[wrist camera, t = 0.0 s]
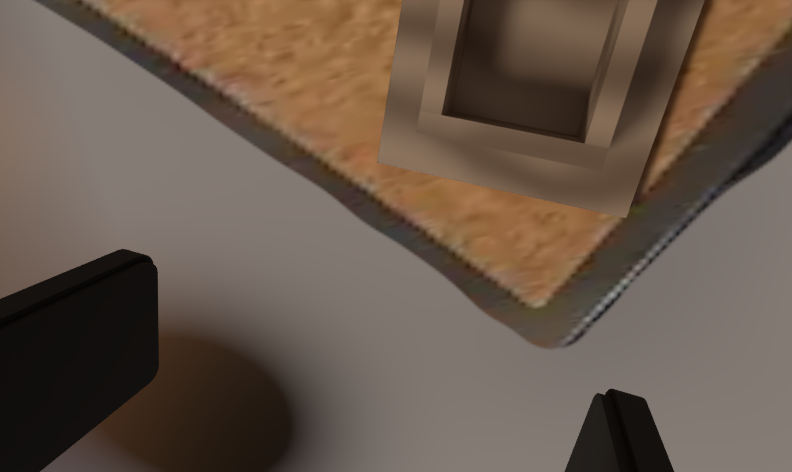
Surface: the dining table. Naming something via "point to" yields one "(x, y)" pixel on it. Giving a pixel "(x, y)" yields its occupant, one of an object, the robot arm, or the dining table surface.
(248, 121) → the dining table surface
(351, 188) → the dining table surface
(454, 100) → the bottle stand
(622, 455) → the robot arm
